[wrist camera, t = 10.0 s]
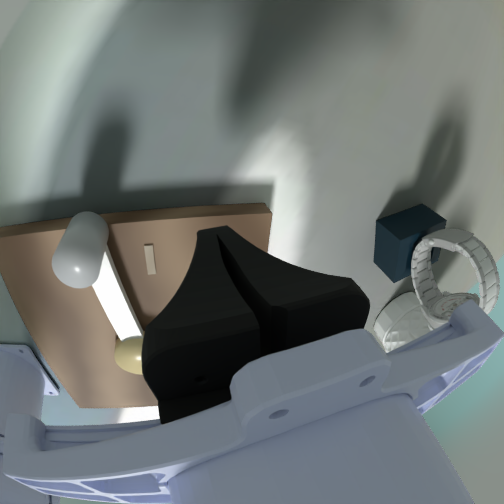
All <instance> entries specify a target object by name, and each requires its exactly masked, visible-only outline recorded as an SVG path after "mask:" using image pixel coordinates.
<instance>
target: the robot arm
mask: <svg viewBox="0 0 504 504" xmlns="http://www.w3.org/2000/svg"><path fill="white" fill-rule="evenodd" d="M196 234H197V241H196V247H195V251H194V255H193V258H192V261H191V263H190V266H189V269H188V271H187V273H186V275H185V278H184V279H183V281H182V283H181V285H180V287H179V288H178V290H177V292H176V293H175V295H174V296H173V298H172V299H171V300H170V301H169V303H168V304H167V305H166V306H165V308H164V309H163V310H162V311H161V312H160V313H159V314H158V315H157V316H156V317H155V318H154V319H153V320H152V321H151V322H150V323H149V324H148V325H147V326H146V329H145V333H144V337H143V343H142V352H141V362H142V374H143V377H144V380H145V381H146V383H147V385H148V386H149V388H150V389H151V391H152V393H153V394H154V396H155V397H156V399H157V400H158V408H159V416H160V419H156V420H148V421H140V422H130V423H119V424H106V425H84V426H45V424H44V423H43V422H42V421H41V415H42V406H43V398H44V395H55V396H58V395H59V393H60V391H59V390H58V388H57V387H56V386H55V384H54V383H53V382H52V380H51V379H50V378H49V376H48V375H47V373H46V372H45V370H44V369H43V367H42V366H41V364H40V363H39V361H38V360H37V358H36V357H35V355H34V354H33V352H32V351H31V349H30V348H29V347H28V346H27V345H9V344H0V504H60V496H61V497H68V498H75V499H83V500H91V501H101V502H114V503H135V504H140V503H141V504H160V503H161V504H162V503H172V504H475V503H474V501H473V499H472V498H471V496H470V494H469V492H468V491H467V489H466V487H465V485H464V483H463V482H462V480H461V478H460V477H459V475H458V473H457V471H456V470H455V468H454V466H453V465H452V463H451V461H450V460H449V458H448V456H447V455H446V453H445V451H444V450H443V448H442V447H441V445H440V443H439V442H438V440H437V438H436V437H435V436H434V434H433V432H432V431H431V429H430V427H429V426H428V424H427V423H426V421H425V420H424V418H423V416H422V414H424V413H425V412H426V411H428V410H429V409H430V408H432V407H433V406H434V405H436V404H437V403H438V402H440V401H441V400H442V399H444V398H445V397H446V396H447V395H449V394H450V393H451V392H452V391H454V390H455V389H456V388H457V387H459V386H460V385H461V384H462V383H464V382H465V381H466V380H467V379H468V378H469V377H471V376H472V375H473V374H474V373H476V372H477V371H478V370H479V369H480V368H481V366H482V365H483V364H484V363H485V361H486V360H487V359H488V357H489V356H490V355H491V353H492V352H493V351H494V349H495V348H496V347H497V345H498V344H499V342H500V341H501V340H502V338H503V337H504V332H503V331H502V330H501V329H500V328H499V327H498V326H497V325H496V324H495V323H494V322H493V320H492V319H491V318H490V317H489V316H488V315H487V314H486V313H485V312H484V311H483V310H482V309H481V308H480V307H479V306H478V305H477V304H476V303H475V302H474V301H473V300H472V299H470V300H468V301H466V302H465V303H463V304H461V305H459V306H458V307H457V308H456V309H455V310H454V311H453V313H452V314H451V316H450V318H449V322H447V323H445V324H443V325H442V326H440V327H438V328H436V329H434V330H432V331H430V332H429V333H427V334H425V335H423V336H421V337H419V338H417V339H415V340H413V341H411V342H409V343H407V344H405V345H403V346H401V347H399V348H396V349H394V350H392V351H390V352H388V353H385V352H384V350H383V349H382V348H381V346H380V345H379V343H378V342H377V341H376V339H375V338H374V336H373V335H372V334H371V333H370V332H368V331H367V330H365V329H364V326H365V323H366V320H367V317H368V314H369V310H370V302H369V299H368V297H367V296H366V295H365V293H364V292H363V291H362V290H361V288H360V287H359V286H358V285H357V284H356V283H355V282H354V281H353V280H352V279H351V278H346V277H340V276H333V275H327V274H323V273H319V272H314V271H311V270H307V269H304V268H301V267H298V266H295V265H292V264H290V263H287V262H285V261H282V260H280V259H278V258H276V257H274V256H272V255H270V254H268V253H266V252H265V251H263V250H261V249H259V248H258V247H256V246H255V245H253V244H252V243H250V242H249V241H247V240H246V239H244V238H243V237H242V236H241V235H239V234H238V233H237V232H235V231H234V230H233V229H232V228H230V227H229V226H228V225H225V226H219V227H214V228H208V229H203V230H198V232H197V233H196Z"/></svg>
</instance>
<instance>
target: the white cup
mask: <svg viewBox="0 0 504 504" xmlns="http://www.w3.org/2000/svg"><path fill="white" fill-rule="evenodd" d="M420 299H421V298H420ZM374 330H375V333H376V335H377V336H378V338H379V339H380V341H381V342H382V344H383V346H384V348H385V350H386V352H387V353H388V352H390V351H392V350H394V349H396V348H399V347H401V346H403V345H405V344H407V343H409V342H411V341H413V340H415V339H417V338H419V337H421V336H423V335H425V334H427V333H429V332H430V331H431V330H430V329H429V326H428V321H427V319H426V317H425V316H424V314H423V312H422V311H421V304H420V301H419V299H418V297H417V295H416V293H414V292H408V293H403V294H402V295H400V296H398V297H397V298H395V299H393V300H392V301H391V302H390V303H389V304H388V305H387V306H386V307H385V308H384V309H383V310H382V311H381V313H380V314H379V316H378V317H377V319H376V321H375V325H374Z"/></svg>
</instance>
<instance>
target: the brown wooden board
mask: <svg viewBox="0 0 504 504" xmlns="http://www.w3.org/2000/svg"><path fill="white" fill-rule="evenodd" d="M98 215H100V216H101V217H102V218H103V219H104V220H105V222H106V223H107V225H108V229H109V237H108V241H107V246H108V249H109V252H110V254H111V257H112V260H113V262H114V265H115V267H116V270H117V272H118V275H119V277H120V280H121V282H122V285H123V287H124V290H125V292H126V294H127V297H128V299H129V301H130V304H131V306H132V308H133V310H134V312H135V315H136V317H137V319H138V321H139V323H140V325H141V328H142V330H143V331H145V329H146V326H147V325H148V324H149V323H150V322H151V321H152V320H153V319H154V318H155V317H156V316H157V315H158V314H159V313H160V312H161V311H162V310H163V309H164V308H165V306H166V305H167V304H168V303H169V301H170V300H171V299H172V298H173V296H174V295H175V293H176V292H177V290H178V288H179V287H180V285H181V283H182V281H183V279H184V278H185V275H186V273H187V271H188V269H189V266H190V263H191V261H192V258H193V255H194V251H195V247H196V241H197V234H196V233H197V232H198V230H203V229H208V228H214V227H219V226H225V225H228V226H229V227H230V228H232V229H233V230H234V231H235V232H237V233H238V234H239V235H241V236H242V237H243V238H244V239H246V240H247V241H249V242H250V243H252V244H253V245H255V246H256V247H258V248H259V249H261V250H263V251H265V252H266V253H267V251H268V243H269V235H270V228H271V220H272V212H271V211H270V210H269V208H268V207H267V206H266V205H265V203H250V204H227V205H208V206H191V207H176V208H162V209H150V210H138V211H127V212H116V213H106V214H98ZM72 218H73V217H70V218H62V219H54V220H47V221H39V222H32V223H25V224H18V225H12V226H6V227H0V272H1V275H2V277H3V280H4V282H5V284H6V287H7V289H8V291H9V293H10V296H11V298H12V300H13V302H14V304H15V306H16V308H17V310H18V312H19V314H20V316H21V318H22V320H23V322H24V324H25V326H26V327H27V329H28V331H29V333H30V335H31V336H32V338H33V340H34V342H35V343H36V345H37V347H38V348H39V350H40V352H41V353H42V355H43V357H44V358H45V360H46V361H47V363H48V364H49V366H50V367H51V369H52V370H53V372H54V373H55V375H56V376H57V378H58V379H59V381H60V382H61V384H62V385H63V386H64V388H65V389H66V390H67V392H68V393H69V395H70V396H71V397H72V398H73V400H74V401H75V402H76V404H77V405H78V406H79V408H127V407H145V406H158V400H157V399H156V397H155V396H154V394H153V393H152V391H151V389H150V388H149V386H148V385H147V383H146V381H145V380H144V377H143V375H140V374H134V373H130V372H127V371H125V370H123V369H122V368H120V367H119V366H118V365H117V363H116V361H115V358H114V355H115V343H116V341H117V339H118V338H119V336H118V334H117V333H116V331H115V329H114V327H113V325H112V324H111V322H110V320H109V318H108V316H107V314H106V312H105V310H104V308H103V307H102V305H101V303H100V301H99V299H98V297H97V295H96V292H95V290H94V288H93V286H92V285H91V286H89V287H86V288H73V287H70V286H67V285H66V284H64V283H63V282H61V281H60V280H59V279H58V278H57V276H56V275H55V273H54V271H53V268H52V257H53V255H54V253H55V250H56V248H57V246H58V244H59V242H60V240H61V238H62V236H63V234H64V232H65V231H66V229H67V227H68V225H69V223H70V221H71V219H72Z"/></svg>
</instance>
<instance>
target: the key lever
mask: <svg viewBox="0 0 504 504" xmlns="http://www.w3.org/2000/svg"><path fill="white" fill-rule="evenodd" d="M108 237H109V229H108V225H107V223H106V222H105V220H104V219H103V218H102V217H101V216H100V215H98V214H96V213H93V212H88V211H86V212H81V213H78V214H76V215H75V216H74V217H73V218H72V219H71V221H70V223H69V225H68V227H67V229H66V231H65V232H64V234H63V236H62V238H61V240H60V242H59V244H58V246H57V248H56V250H55V253H54V255H53V257H52V268H53V271H54V273H55V275H56V276H57V278H58V279H59V280H60V281H61V282H63V283H64V284H66V285H67V286H70V287H73V288H86V287H89V286H91V285H92V286H93V288H94V290H95V292H96V295H97V297H98V299H99V301H100V303H101V305H102V307H103V308H104V310H105V312H106V314H107V316H108V318H109V320H110V322H111V324H112V325H113V327H114V329H115V331H116V333H117V334H118V336H119V338H118V339H117V341H116V343H115V355H114V358H115V361H116V363H117V365H118V366H119V367H120V368H122V369H123V370H125V371H127V372H130V373H134V374H140V375H143V374H142V362H141V352H142V343H143V337H144V333H145V331H143V330H142V328H141V325H140V323H139V321H138V319H137V317H136V315H135V312H134V310H133V308H132V306H131V304H130V301H129V299H128V297H127V294H126V292H125V290H124V287H123V285H122V282H121V280H120V277H119V275H118V272H117V270H116V267H115V265H114V262H113V260H112V257H111V254H110V252H109V249H108V246H107V241H108Z"/></svg>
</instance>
